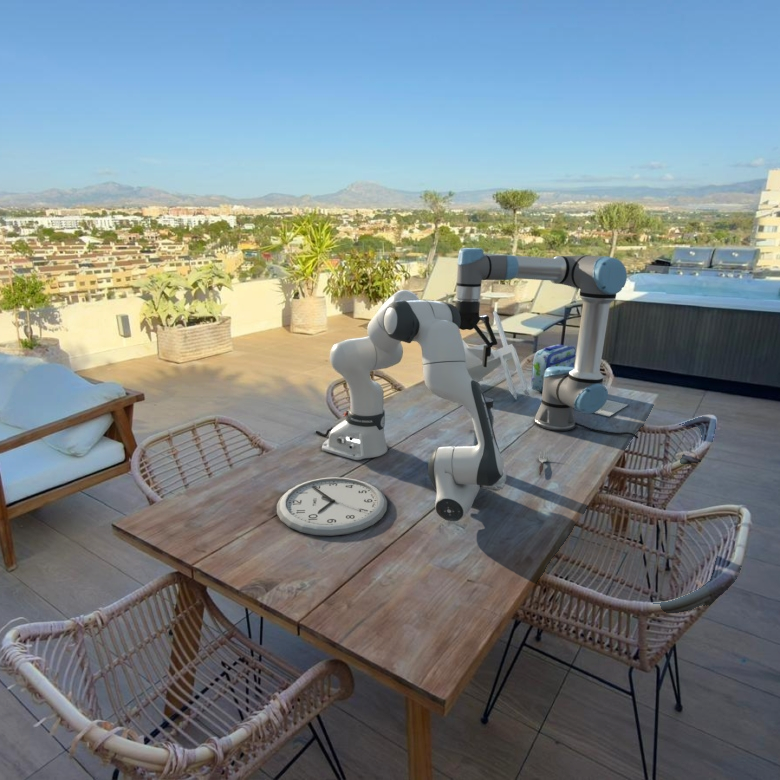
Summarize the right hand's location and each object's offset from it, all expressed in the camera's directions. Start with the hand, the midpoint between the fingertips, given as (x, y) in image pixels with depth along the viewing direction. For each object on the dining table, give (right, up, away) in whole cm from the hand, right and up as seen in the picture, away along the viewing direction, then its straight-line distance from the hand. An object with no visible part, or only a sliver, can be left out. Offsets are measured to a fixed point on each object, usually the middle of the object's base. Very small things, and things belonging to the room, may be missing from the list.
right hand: (463, 366), depth 168 cm
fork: (+25, -32, 0) cm, 41 cm away
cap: (+5, -11, -10) cm, 15 cm away
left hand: (+1, -29, -14) cm, 32 cm away
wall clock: (-39, -39, -26) cm, 61 cm away
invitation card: (+68, -15, +58) cm, 90 cm away
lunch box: (+54, -7, +82) cm, 98 cm away
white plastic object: (+18, -9, +75) cm, 77 cm away
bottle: (+5, -33, -3) cm, 33 cm away
